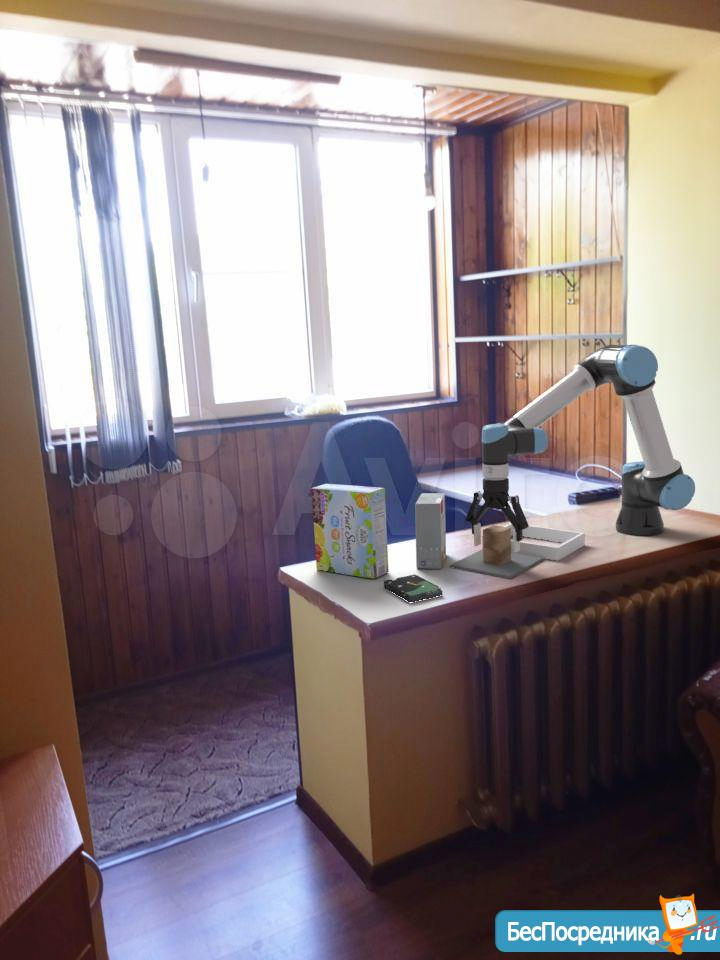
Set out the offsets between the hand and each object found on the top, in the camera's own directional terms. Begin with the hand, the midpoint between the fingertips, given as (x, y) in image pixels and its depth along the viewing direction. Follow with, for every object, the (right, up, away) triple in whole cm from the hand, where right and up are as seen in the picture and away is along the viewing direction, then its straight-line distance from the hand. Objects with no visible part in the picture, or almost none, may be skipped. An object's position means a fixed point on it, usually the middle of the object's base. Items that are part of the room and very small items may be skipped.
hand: (496, 548), depth 226 cm
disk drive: (-26, -11, -19) cm, 34 cm away
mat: (0, -5, +1) cm, 5 cm away
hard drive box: (-19, -5, +7) cm, 20 cm away
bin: (+15, -1, +16) cm, 22 cm away
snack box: (-43, -7, +1) cm, 44 cm away
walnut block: (0, -4, +1) cm, 4 cm away
